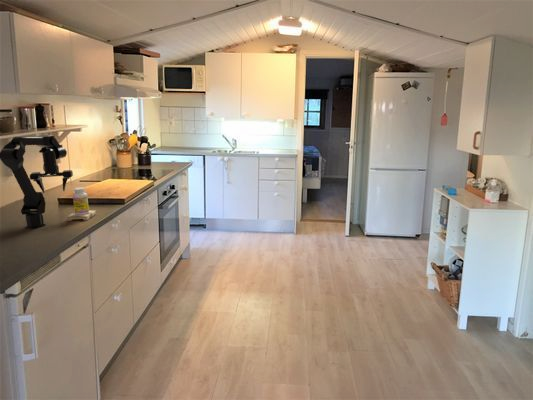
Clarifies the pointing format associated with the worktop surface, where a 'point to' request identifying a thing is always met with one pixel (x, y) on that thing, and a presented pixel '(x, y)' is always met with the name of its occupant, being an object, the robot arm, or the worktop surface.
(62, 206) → the worktop surface
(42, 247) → the worktop surface
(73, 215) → the birch stand
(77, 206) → the supplement bottle
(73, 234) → the worktop surface
